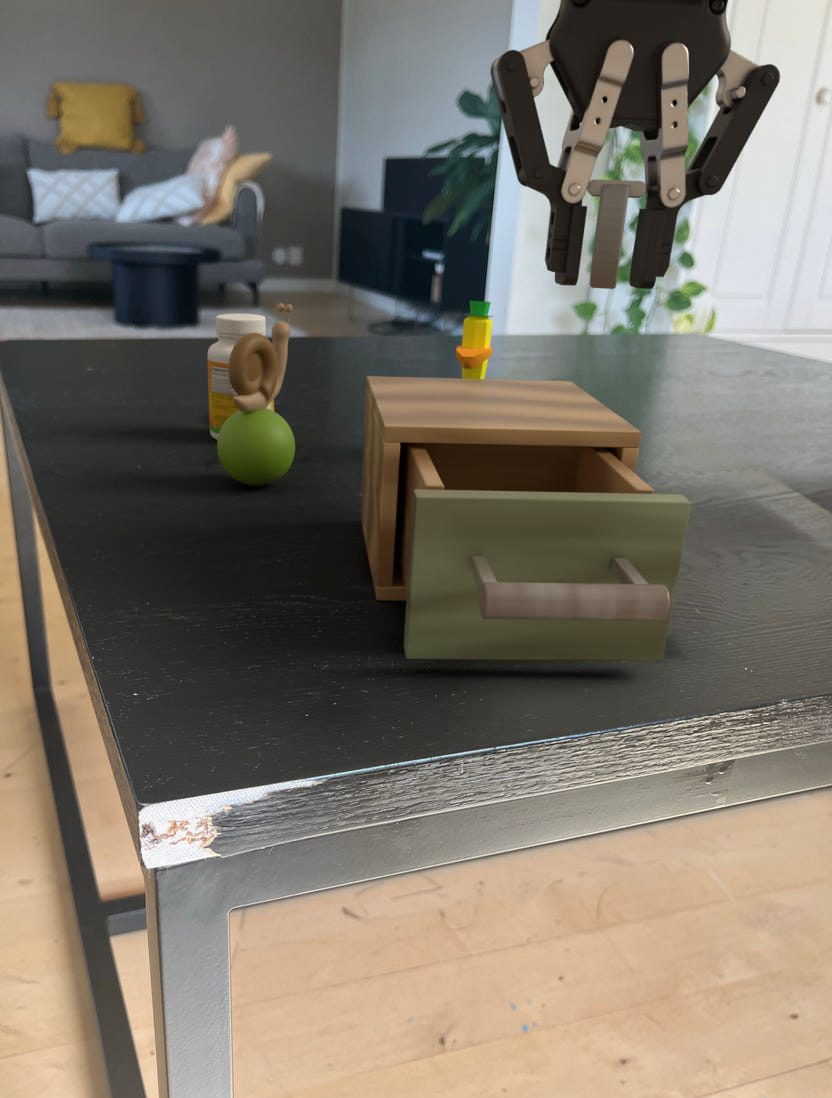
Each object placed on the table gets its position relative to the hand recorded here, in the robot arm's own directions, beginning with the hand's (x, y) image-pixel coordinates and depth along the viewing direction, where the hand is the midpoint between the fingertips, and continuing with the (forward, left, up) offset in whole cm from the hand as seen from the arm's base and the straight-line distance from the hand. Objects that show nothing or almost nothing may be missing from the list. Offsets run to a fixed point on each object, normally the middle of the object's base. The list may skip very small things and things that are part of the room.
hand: (604, 284), depth 50 cm
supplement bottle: (+20, -30, -16) cm, 40 cm away
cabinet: (+5, -1, -15) cm, 16 cm away
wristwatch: (0, 0, 0) cm, 0 cm away
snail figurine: (+18, -16, -16) cm, 29 cm away
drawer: (+5, +11, -14) cm, 19 cm away
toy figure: (+2, -24, -16) cm, 29 cm away
